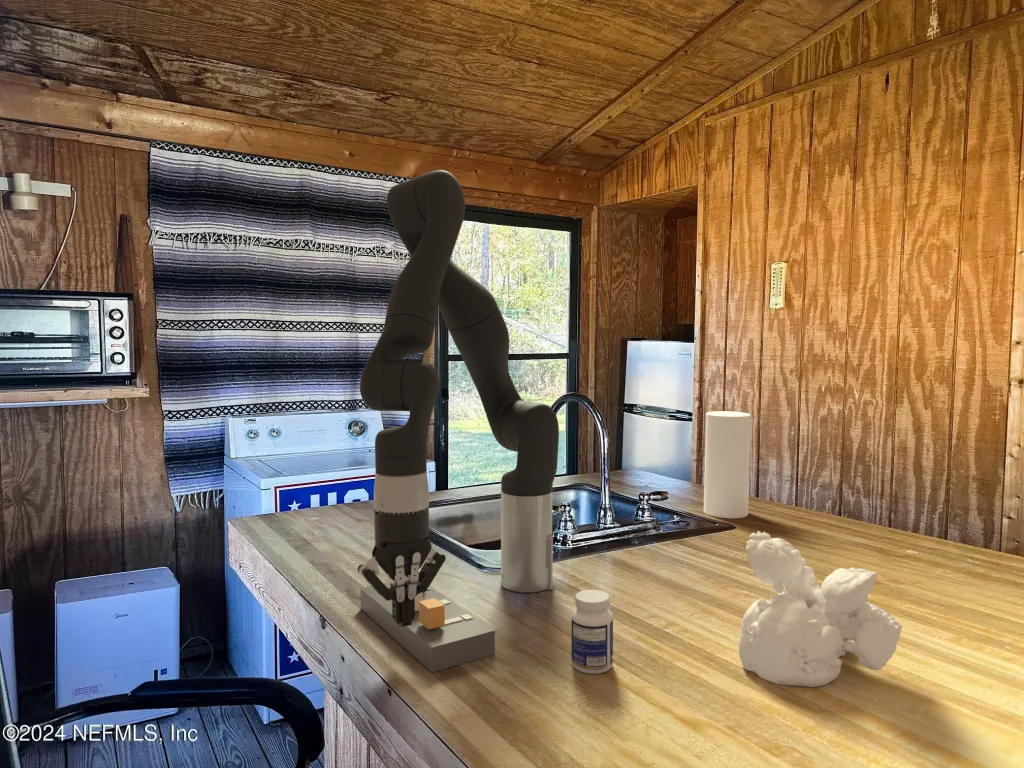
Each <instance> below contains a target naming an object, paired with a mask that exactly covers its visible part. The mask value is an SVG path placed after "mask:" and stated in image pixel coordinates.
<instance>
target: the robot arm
mask: <svg viewBox="0 0 1024 768" xmlns="http://www.w3.org/2000/svg"><path fill="white" fill-rule="evenodd" d="M386 206H387V207H386V208H387V210H388V214H389V218H390V221H391V223H392V225H393V227H394V229H395V231H396V232H397V235H398V236H399V239H400V240H401V242H402V243H403V245H404V247H405V249H406V251H407V252H408V254H409V255H410V258H409V260H408V261H407V263H406V265H405V266H404V267H403V269H402V271H400V274H399V276H398V277H397V279H396V281H395V282H394V284H393V287H392V289H391V292H390V295H389V298H388V303H387V308H386V309H387V310H386V314H385V320H384V323H383V324H384V325H383V329H382V332H381V334H380V336H379V338H378V341H377V343H376V344H375V347H374V348H373V350H372V351H371V354H370V356H369V357H368V359H367V361H366V363H365V365H364V368H363V369H362V370H363V371H362V373H361V376H360V380H359V393H360V397H361V399H362V401H363V403H364V405H366V407H367V408H368V409H370V410H372V411H377V412H378V411H379V412H409V415H408V419H407V421H406V422H405V423H404V424H403V425H400V426H394V427H389V428H385V429H382V430H380V431H378V432H377V434H376V435H375V437H374V453H375V454H374V456H375V457H374V459H375V462H374V463H375V465H374V466H375V476H374V484H373V485H374V486H373V508H374V509H373V511H374V512H373V513H374V514H373V517H374V518H373V519H374V520H373V521H374V524H373V525H374V541H375V542H374V547H373V549H372V551H371V558H370V559H369V560H368V561H367V562H366V563H365V564H360V565H358V567H357V569H356V570H357V572H358V573H359V575H360V576H361V577H363V579H364V580H365V581H366V582H367V583H368V585H370V586H372V587H373V588H374V589H375V590H376V591H377V592H378V594H379V595H381V596H383V598H384V599H386V600H387V601H389V600H392V618H393V620H394V621H395V622H396V623H397V624H398V625H399V626H400V627H404V626H408V625H411V623H412V620H414V617H415V597H416V596H417V595H418V594H419V593H421V592H422V593H424V592H426V591H427V589H428V587H429V586H430V587H431V584H432V583H433V580H435V578H436V576H437V575H438V572H439V571H440V569H441V568H442V566H443V565H444V563H445V561H446V560H447V558H446V555H445V554H443V553H442V552H440V551H438V550H436V549H434V548H432V547H433V545H432V542H431V541H430V539H429V534H430V493H429V492H430V491H429V490H430V489H429V480H428V472H427V469H428V468H427V467H428V466H427V441H428V440H427V439H428V433H429V427H430V423H431V418H432V415H433V410H434V407H435V403H436V401H437V396H438V392H439V385H440V380H439V379H440V378H439V375H438V372H437V370H436V368H435V367H434V365H433V364H431V362H429V361H427V360H423V359H418V360H417V359H414V360H413V359H406V358H408V357H411V356H415V355H419V354H423V353H425V352H426V351H428V350H429V349H430V347H431V345H432V342H433V338H434V331H435V326H436V325H435V324H436V318H437V311H438V309H439V312H440V313H441V316H442V318H443V321H444V323H445V326H446V327H447V330H448V331H449V332H448V333H449V334H450V336H451V338H452V341H453V343H454V345H455V346H456V349H457V350H458V352H459V353H460V356H461V358H462V360H463V363H464V364H465V367H466V369H467V371H468V373H469V375H470V378H471V380H472V382H473V384H474V386H475V388H476V391H477V393H478V396H479V399H480V400H481V401H480V402H481V405H482V406H483V410H484V413H485V415H486V419H487V421H488V424H489V428H490V429H491V433H492V436H493V437H494V439H495V441H496V442H497V443H498V444H499V445H500V446H501V447H502V448H504V449H506V450H509V451H512V452H516V453H517V454H516V455H517V456H516V465H515V468H514V469H513V470H509V471H507V472H505V473H503V475H502V476H501V482H500V485H501V486H500V488H501V489H500V490H501V491H500V499H501V500H500V515H501V516H500V520H501V521H500V581H501V582H500V584H501V587H503V588H505V589H506V590H508V591H511V592H517V593H538V592H542V591H546V590H553V586H554V585H553V584H554V583H553V576H554V575H553V571H554V570H553V569H554V568H553V564H554V562H553V559H554V556H553V555H554V553H553V551H554V545H553V543H554V542H553V541H554V537H553V486H554V480H555V478H556V475H557V470H558V457H559V443H560V442H559V441H560V440H559V439H560V438H559V437H560V428H559V427H560V426H559V420H558V417H557V414H556V412H555V411H554V409H553V408H552V407H551V406H549V405H548V404H545V403H541V402H534V401H525V400H524V399H522V397H521V396H520V394H519V393H518V391H517V388H516V386H515V384H514V382H513V380H512V376H511V374H510V369H509V355H510V335H509V329H508V326H507V324H506V321H505V319H504V317H503V315H502V312H501V310H500V307H499V305H498V303H497V300H496V298H495V297H494V296H493V294H492V293H491V292H490V291H489V289H487V288H486V287H485V286H484V285H483V284H482V283H480V282H479V281H478V280H476V279H475V278H474V277H472V276H471V275H470V274H468V273H467V272H466V271H465V270H464V269H462V268H461V267H460V266H458V265H457V264H456V263H455V262H454V261H453V260H452V256H453V252H454V251H455V250H454V249H455V245H456V243H457V240H458V237H459V234H460V231H461V228H462V225H463V223H464V218H465V213H466V211H465V210H466V200H465V195H464V192H463V188H462V186H461V184H460V182H459V181H458V180H457V178H456V177H455V176H454V175H453V173H451V172H449V171H447V170H444V169H439V170H432V171H429V172H426V173H423V174H421V175H418V176H416V177H412V178H411V179H408V180H405V181H403V182H400V183H398V184H394V186H392V187H391V188H390V189H389V190H388V193H387V196H386ZM378 566H379V567H380V569H382V571H383V572H384V573H385V574H386V577H387V581H388V582H387V583H389V588H387V587H386V586H385V585H384V582H383V581H382V580H381V579H380V578H379V577H378V575H379V571H380V570H379V568H378ZM420 568H421V570H420ZM419 570H420V571H419Z"/></svg>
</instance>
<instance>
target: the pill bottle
mask: <svg viewBox="0 0 1024 768" xmlns="http://www.w3.org/2000/svg"><path fill="white" fill-rule="evenodd" d="M574 597H575V598H574V602H575V603H574V604H575V606H576V608H574V609H573V611H572V613H571V664H572V666H573V667H574V668H575V669H576V670H577V671H579V672H581V673H584V674H585V673H586V674H591V675H594V674H603V673H606V672H608V671H609V670H611V668H612V667H613V665H614V649H613V648H614V618H613V613H612V612H611V610H610V609H609V606H610V603H611V602H610V594H608V593H607V592H606V591H603V590H599V589H585V590H580V591H578V592H577V593H576V594H575V596H574Z"/></svg>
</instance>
